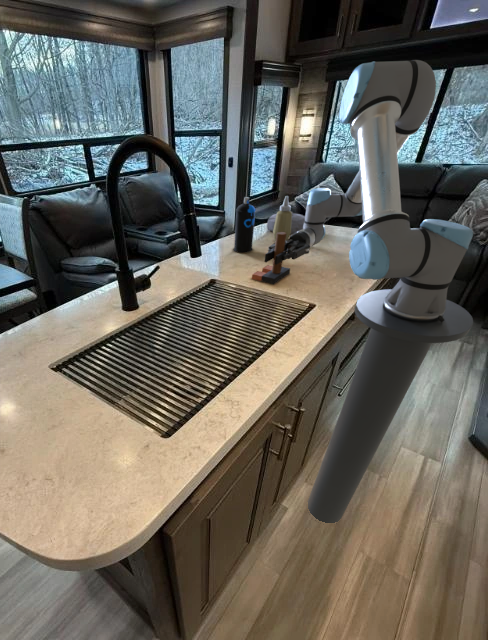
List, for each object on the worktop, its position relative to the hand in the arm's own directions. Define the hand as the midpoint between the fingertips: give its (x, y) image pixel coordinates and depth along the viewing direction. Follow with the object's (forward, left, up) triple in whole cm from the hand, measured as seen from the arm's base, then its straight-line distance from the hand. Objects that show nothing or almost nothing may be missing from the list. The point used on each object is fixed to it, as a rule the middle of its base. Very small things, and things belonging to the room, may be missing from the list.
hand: (271, 259), depth 113 cm
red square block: (+4, -2, -8) cm, 9 cm away
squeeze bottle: (+19, -46, -8) cm, 51 cm away
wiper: (0, -5, -8) cm, 10 cm away
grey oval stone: (+23, -62, -8) cm, 67 cm away
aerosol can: (+27, -26, -8) cm, 38 cm away
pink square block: (+4, -9, -8) cm, 13 cm away
